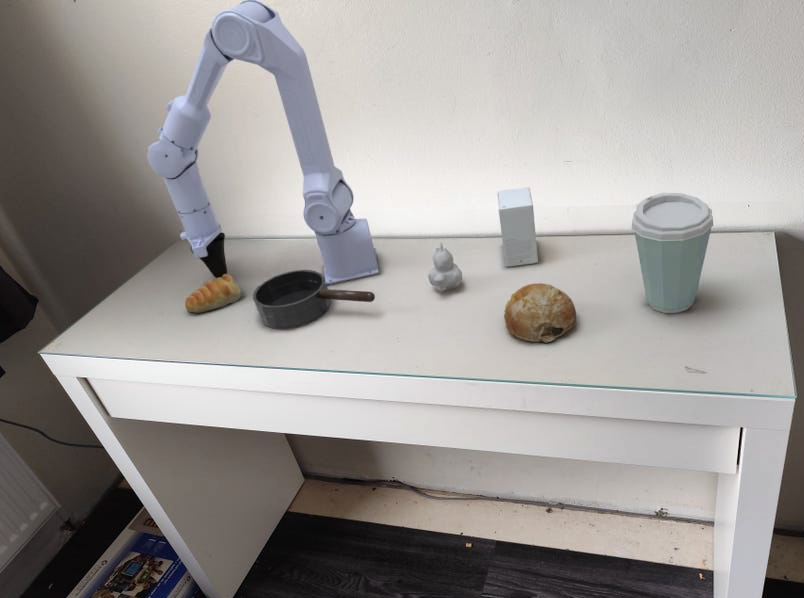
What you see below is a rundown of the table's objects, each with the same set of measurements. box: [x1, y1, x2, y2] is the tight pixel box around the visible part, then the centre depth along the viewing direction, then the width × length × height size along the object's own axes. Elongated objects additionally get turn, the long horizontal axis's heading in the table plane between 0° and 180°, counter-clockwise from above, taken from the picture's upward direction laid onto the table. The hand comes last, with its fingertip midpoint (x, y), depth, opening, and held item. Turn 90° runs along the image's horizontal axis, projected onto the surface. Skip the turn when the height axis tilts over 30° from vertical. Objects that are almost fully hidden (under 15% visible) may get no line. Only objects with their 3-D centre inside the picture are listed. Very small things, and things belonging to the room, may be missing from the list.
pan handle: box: [319, 288, 376, 303], centre depth 106 cm, size 10×2×2 cm, turn 71°
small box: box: [496, 186, 539, 268], centre depth 112 cm, size 8×6×10 cm
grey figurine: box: [427, 242, 463, 291], centre depth 107 cm, size 5×7×8 cm
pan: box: [252, 269, 332, 330], centre depth 110 cm, size 12×12×4 cm
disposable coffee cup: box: [630, 192, 714, 314], centre depth 93 cm, size 11×11×15 cm
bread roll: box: [503, 282, 577, 344], centre depth 96 cm, size 10×10×8 cm
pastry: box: [184, 273, 243, 314], centre depth 116 cm, size 9×7×4 cm
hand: (221, 275), depth 123 cm, fingers closed
